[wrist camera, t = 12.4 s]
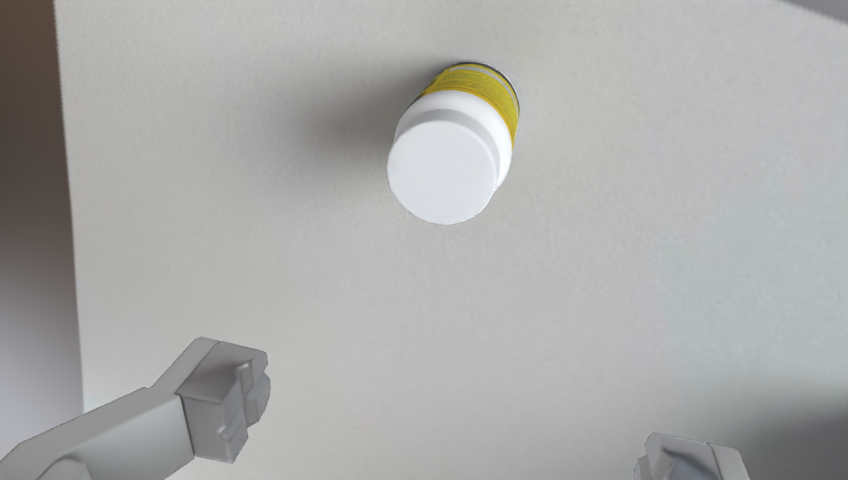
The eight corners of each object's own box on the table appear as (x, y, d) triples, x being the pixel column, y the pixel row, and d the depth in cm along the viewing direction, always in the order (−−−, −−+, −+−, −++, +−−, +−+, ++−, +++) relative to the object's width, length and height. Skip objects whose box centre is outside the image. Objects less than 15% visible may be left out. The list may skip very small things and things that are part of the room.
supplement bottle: (433, 49, 24) (385, 91, 17) (532, 71, 24) (525, 125, 17) (416, 144, 27) (368, 217, 19) (505, 166, 26) (489, 249, 19)
